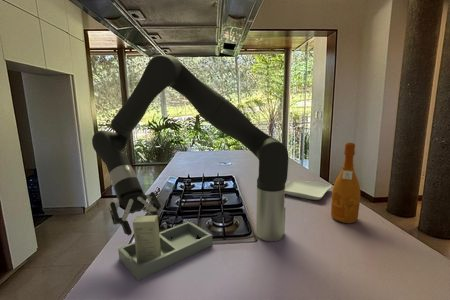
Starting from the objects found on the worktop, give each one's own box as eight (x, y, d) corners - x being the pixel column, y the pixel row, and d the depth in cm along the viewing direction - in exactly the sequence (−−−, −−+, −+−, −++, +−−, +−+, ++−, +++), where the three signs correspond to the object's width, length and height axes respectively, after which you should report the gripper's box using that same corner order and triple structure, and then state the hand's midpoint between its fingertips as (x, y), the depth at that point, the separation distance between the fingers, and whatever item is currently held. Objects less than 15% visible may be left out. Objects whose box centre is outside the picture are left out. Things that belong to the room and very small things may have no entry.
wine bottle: (324, 215, 105) (330, 141, 99) (343, 211, 108) (349, 140, 103) (344, 226, 96) (351, 145, 90) (363, 221, 99) (371, 143, 94)
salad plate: (292, 183, 145) (292, 177, 145) (332, 191, 133) (332, 184, 133) (276, 195, 128) (276, 188, 128) (320, 204, 116) (321, 197, 116)
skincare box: (161, 252, 79) (159, 214, 77) (158, 261, 75) (155, 221, 72) (139, 253, 79) (137, 215, 76) (135, 261, 74) (132, 221, 72)
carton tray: (189, 230, 94) (189, 221, 93) (212, 244, 84) (212, 234, 84) (119, 258, 77) (118, 248, 77) (138, 280, 68) (137, 268, 67)
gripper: (104, 181, 75) (123, 232, 69) (150, 172, 85) (170, 216, 79) (99, 194, 80) (117, 243, 74) (143, 183, 90) (162, 226, 84)
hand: (144, 229), depth 76 cm, fingers open, 8 cm apart
